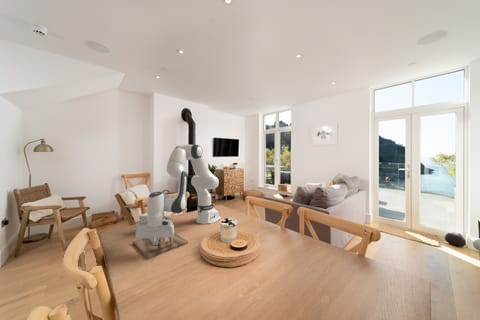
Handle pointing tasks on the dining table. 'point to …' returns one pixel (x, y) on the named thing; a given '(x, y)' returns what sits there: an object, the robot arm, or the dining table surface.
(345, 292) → the dining table surface
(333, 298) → the dining table surface
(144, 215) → the supplement box
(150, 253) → the walnut board
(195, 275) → the dining table surface
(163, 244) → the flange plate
